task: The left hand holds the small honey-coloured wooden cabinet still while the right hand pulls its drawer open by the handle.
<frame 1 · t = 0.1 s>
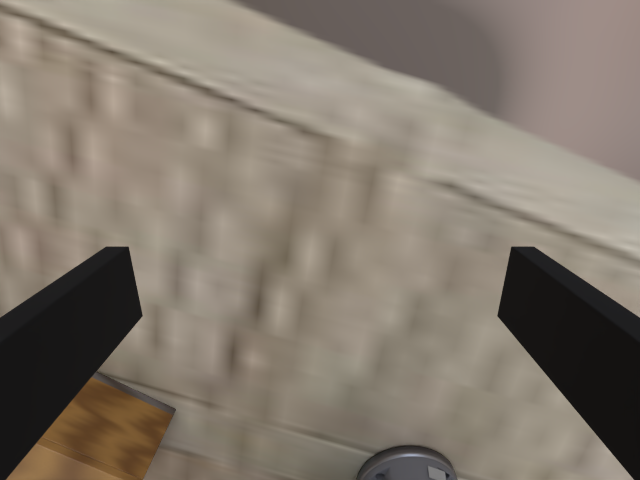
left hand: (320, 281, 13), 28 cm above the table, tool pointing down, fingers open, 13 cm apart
cabinet: (105, 408, 51), on the table
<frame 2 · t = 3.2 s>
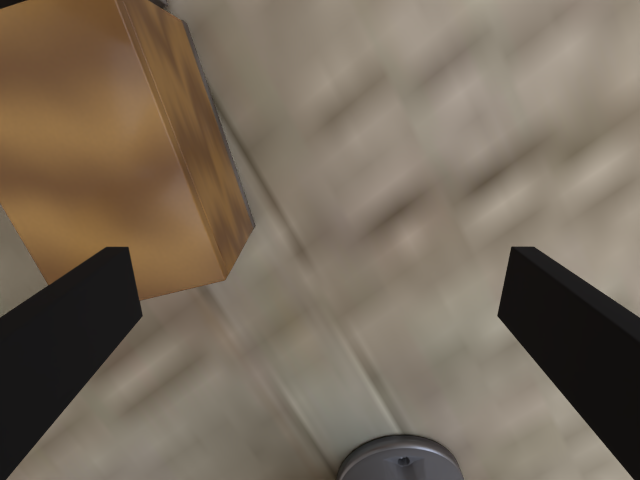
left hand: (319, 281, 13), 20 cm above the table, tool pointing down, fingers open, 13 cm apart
drawer: (95, 77, 24), point 6 cm above the table, slide at 1.1 cm
cabinet: (163, 150, 31), on the table
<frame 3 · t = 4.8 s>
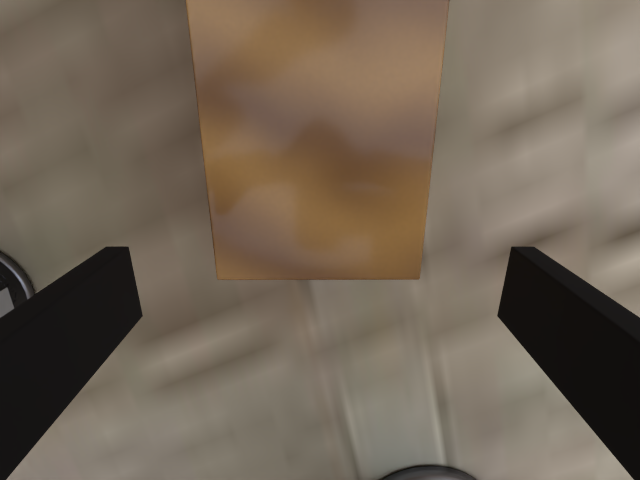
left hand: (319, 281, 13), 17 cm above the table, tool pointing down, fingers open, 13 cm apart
cabinet: (318, 112, 27), on the table
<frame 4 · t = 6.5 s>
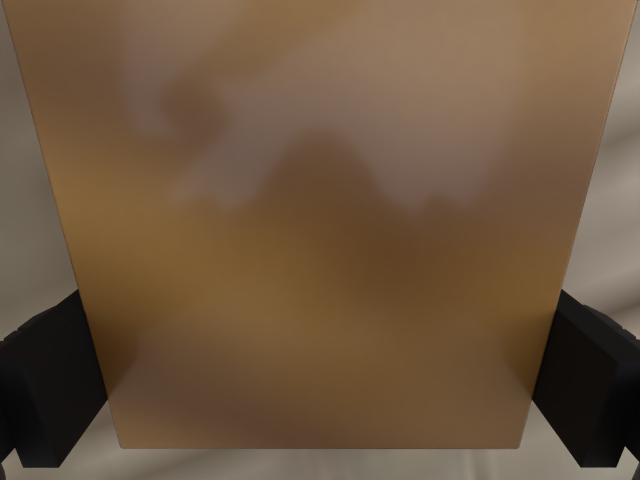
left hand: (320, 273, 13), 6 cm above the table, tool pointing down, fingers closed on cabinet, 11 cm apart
cabinet: (320, 116, 17), on the table, touching left hand
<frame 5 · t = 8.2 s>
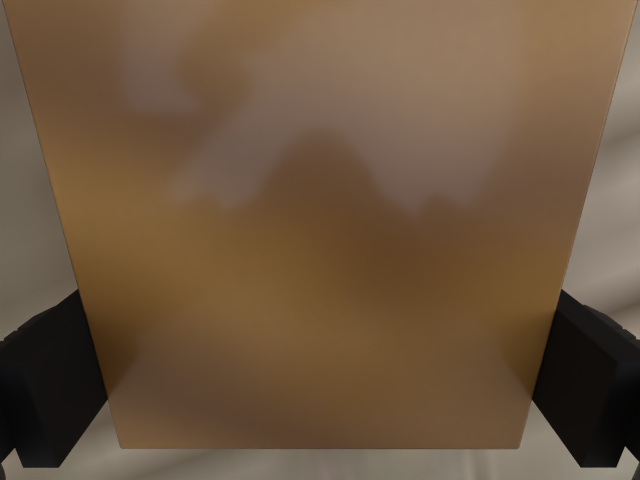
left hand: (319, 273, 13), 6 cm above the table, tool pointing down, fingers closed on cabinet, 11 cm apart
cabinet: (320, 117, 17), on the table, touching left hand
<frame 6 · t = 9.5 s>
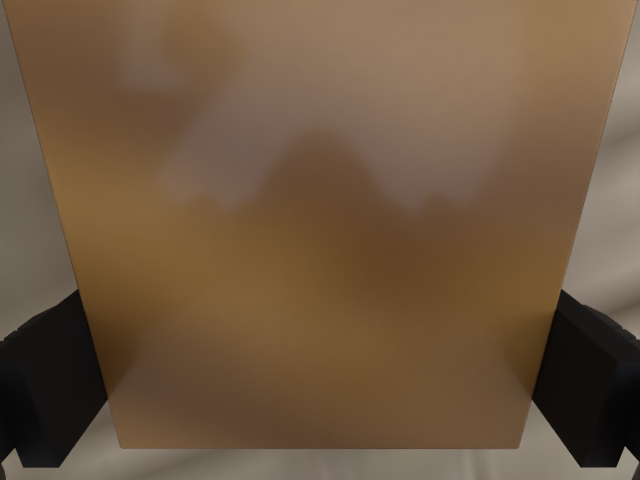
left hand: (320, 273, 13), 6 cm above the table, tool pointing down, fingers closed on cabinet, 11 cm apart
cabinet: (319, 116, 17), on the table, touching left hand
when the left hand's fingers open (6 cm above the table, at t = 11.5 s): cabinet stays where it is, on the table.
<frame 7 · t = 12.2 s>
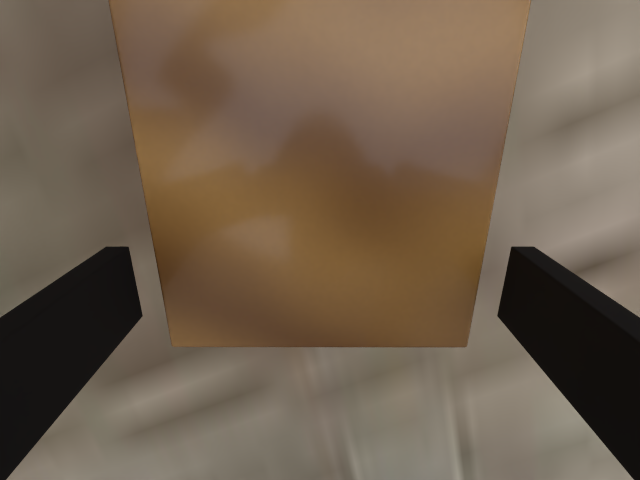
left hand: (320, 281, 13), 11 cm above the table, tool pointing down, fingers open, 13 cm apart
cabinet: (319, 103, 21), on the table
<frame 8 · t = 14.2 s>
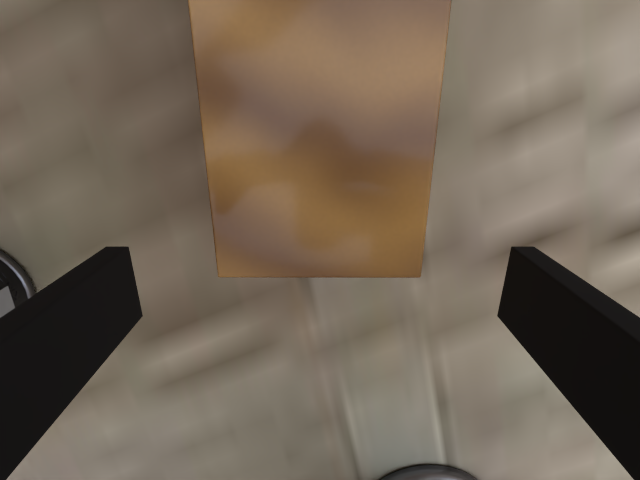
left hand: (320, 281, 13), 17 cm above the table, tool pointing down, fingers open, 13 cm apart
cabinet: (319, 110, 27), on the table
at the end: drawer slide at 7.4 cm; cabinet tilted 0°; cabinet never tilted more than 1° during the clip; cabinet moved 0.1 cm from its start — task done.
